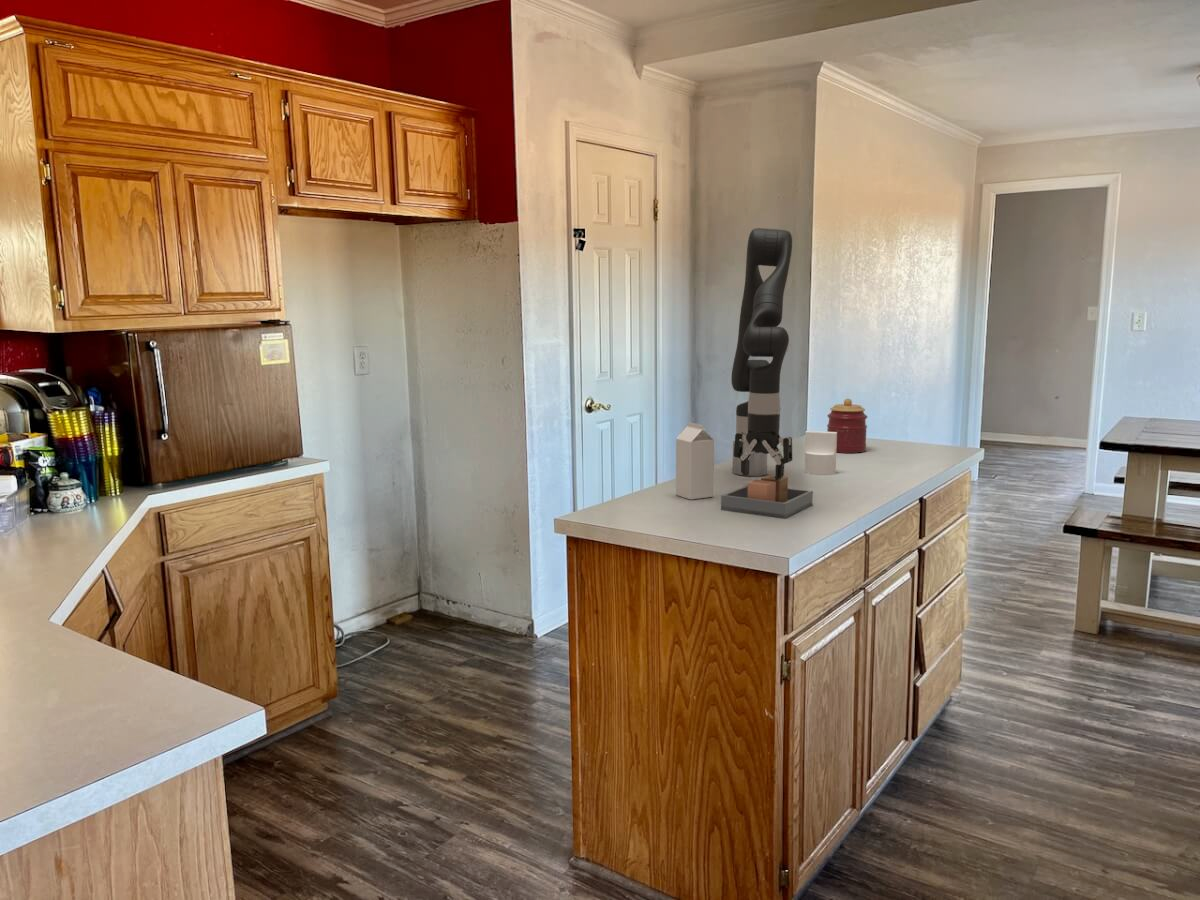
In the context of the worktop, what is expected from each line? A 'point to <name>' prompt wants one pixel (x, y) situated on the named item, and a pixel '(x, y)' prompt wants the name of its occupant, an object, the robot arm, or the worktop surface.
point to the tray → (766, 503)
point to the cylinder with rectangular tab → (820, 452)
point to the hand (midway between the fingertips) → (762, 477)
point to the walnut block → (779, 487)
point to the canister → (848, 427)
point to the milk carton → (694, 463)
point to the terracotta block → (762, 490)
